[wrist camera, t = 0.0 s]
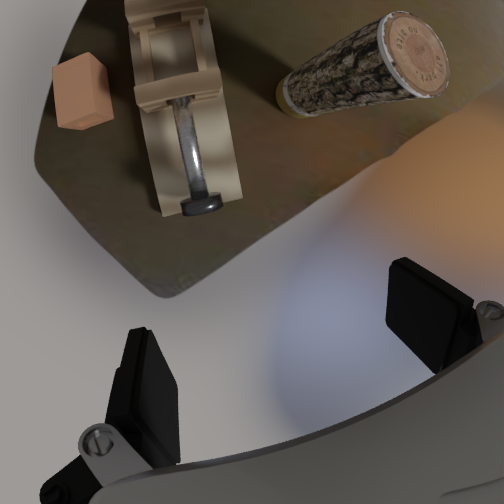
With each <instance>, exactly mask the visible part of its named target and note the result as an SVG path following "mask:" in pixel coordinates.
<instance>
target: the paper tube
mask: <svg viewBox="0 0 504 504" xmlns="http://www.w3.org/2000/svg"><path fill="white" fill-rule="evenodd" d="M448 81H449V63H448V59H447V55H446V52H445V50H444V48H443V46H442V44H441V42H440V40H439V38H438V37H437V35H436V34H435V33H434V31H433V30H432V29H431V28H430V27H429V26H428V25H427V24H426V23H425V22H424V21H422V20H421V19H420V18H418V17H417V16H415V15H413V14H410V13H407V12H403V11H396V12H393V13H390V14H387V15H385V16H383V17H381V18H379V19H378V20H376V21H374V22H372V23H370V24H368V25H366V26H364V27H363V28H361V29H359V30H357V31H356V32H354V33H352V34H350V35H349V36H347V37H345V38H344V39H342V40H340V41H338V42H337V43H335V44H334V45H332V46H330V47H329V48H327V49H326V50H324V51H322V52H321V53H319V54H318V55H316V56H315V57H313V58H312V59H310V60H309V61H307V62H306V63H304V64H303V65H301V66H300V67H298V68H297V69H295V70H294V71H293V72H291V73H290V74H289V75H287V76H286V77H284V78H283V79H282V80H281V81H280V82H279V84H278V85H277V88H276V100H277V103H278V105H279V107H280V108H281V109H282V111H283V112H285V113H286V114H287V115H289V116H291V117H294V118H307V117H312V116H317V115H321V114H326V113H331V112H336V111H341V110H346V109H351V108H357V107H362V106H368V105H375V104H381V103H388V102H396V101H404V100H413V99H423V98H431V97H436V96H439V95H440V94H442V93H443V92H444V90H445V89H446V87H447V85H448Z"/></svg>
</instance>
